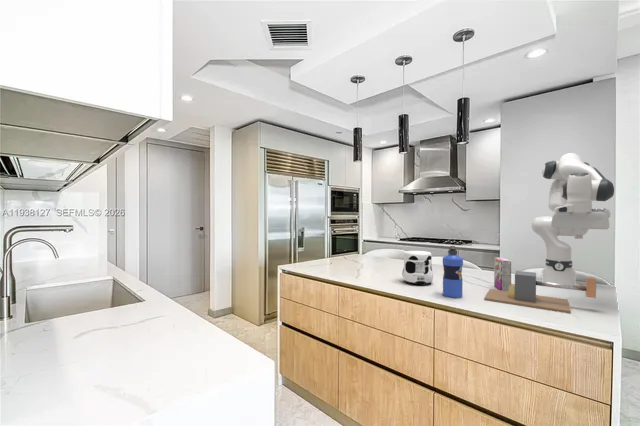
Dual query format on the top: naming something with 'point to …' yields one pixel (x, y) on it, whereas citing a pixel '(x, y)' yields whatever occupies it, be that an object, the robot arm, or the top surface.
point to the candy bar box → (502, 273)
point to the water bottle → (452, 274)
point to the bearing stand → (528, 295)
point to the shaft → (575, 286)
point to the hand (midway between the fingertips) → (578, 238)
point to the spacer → (512, 291)
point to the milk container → (417, 267)
